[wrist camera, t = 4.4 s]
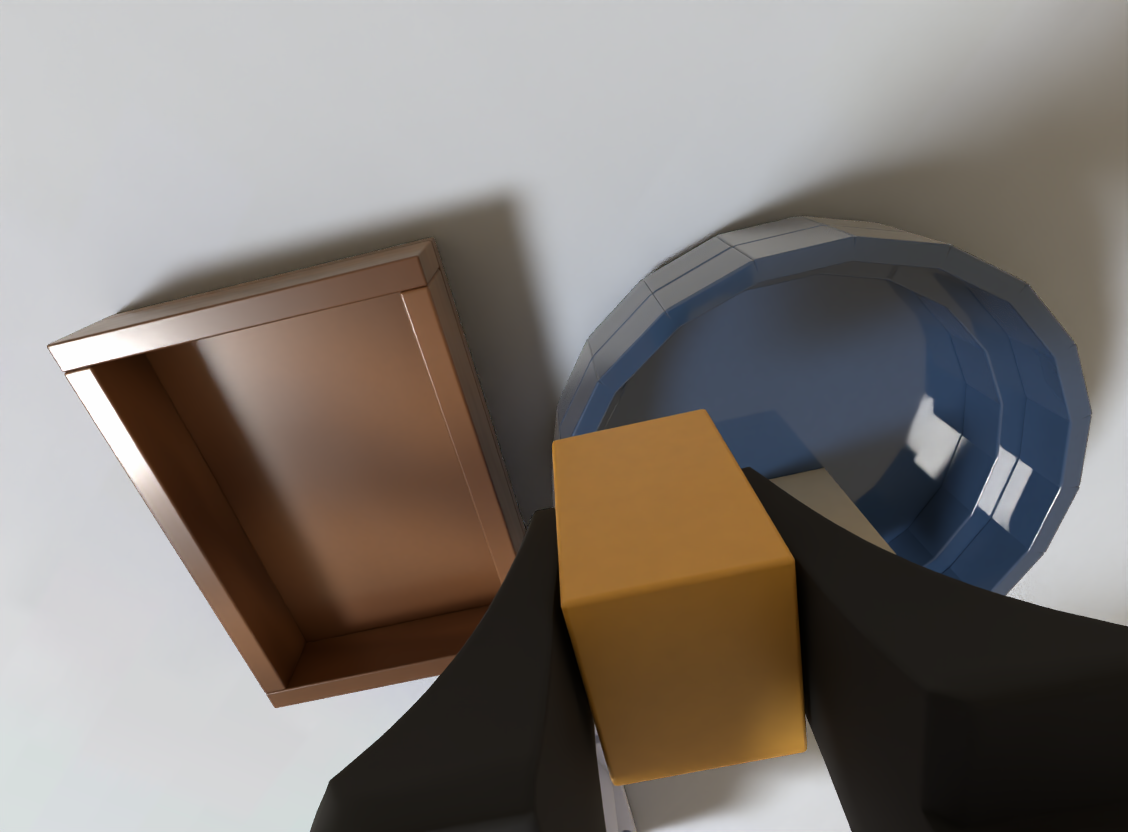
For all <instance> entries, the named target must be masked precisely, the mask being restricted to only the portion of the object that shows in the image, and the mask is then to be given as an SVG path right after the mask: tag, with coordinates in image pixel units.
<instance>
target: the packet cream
mask: <svg viewBox="0 0 1128 832" xmlns="http://www.w3.org/2000/svg"><path fill="white" fill-rule="evenodd" d="M769 480H770V481H771V482H773V483H774V484H776V485H777V486H778V487H780V488H781V489H783V490H784V491H786V492H787V493H788V494H790V495H791V496H793V497H794V498H796V499H797V500H799V501H800V502H802V503H803V504H805V505H806V506H808V507H809V508H811V509H813V510H814V511H816V512H817V513H819V514H821V515H822V516H824V517H825V518H827V519H829V520H830V521H832V522H834V523H835V524H837V525H839V526H841V527H842V528H844V529H846V530H848V531H850V532H852V533H853V534H855V535H857V536H859V537H861V538H862V539H864V540H866V541H868V542H870V543H872V544H874V545H876V546H878V547H880V548H882V549H885V550H887V551H889V552H891V553H893V554H895V552H894V551H893V550H892V549H891V548H890V546H889V545H888V544H887V543H886V542H885V540H884V539H883V538H882V537H881V536H880V534H879V533H878V532H877V531H876V530H875V528H874V527H873V526H872V525H871V524H870V522H869V521H868V520H867V519H866V518H865V516H864V515H863V514H862V513H861V512H860V510H859V509H858V508H857V507H856V506H855V504H854V503H853V502H852V501H851V500H850V498H849V497H848V496H847V495H846V494H845V492H844V491H843V490H842V489H841V488H840V486H839V485H838V484H837V483H836V482H835V480H834V479H833V478H832V477H831V476H830V474H829V473H828V472H827V471H826V470H825V468H820V469H816V470H811V471H806V472H802V473H797V474H792V475H788V476H783V477H778V478H774V479H769Z"/></svg>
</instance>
